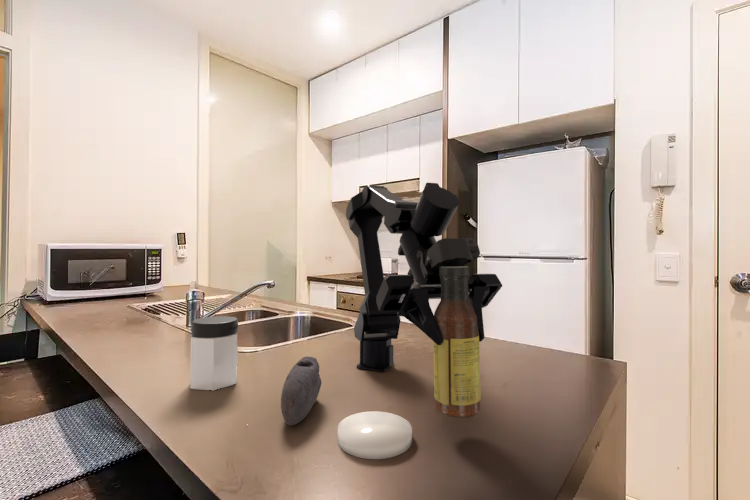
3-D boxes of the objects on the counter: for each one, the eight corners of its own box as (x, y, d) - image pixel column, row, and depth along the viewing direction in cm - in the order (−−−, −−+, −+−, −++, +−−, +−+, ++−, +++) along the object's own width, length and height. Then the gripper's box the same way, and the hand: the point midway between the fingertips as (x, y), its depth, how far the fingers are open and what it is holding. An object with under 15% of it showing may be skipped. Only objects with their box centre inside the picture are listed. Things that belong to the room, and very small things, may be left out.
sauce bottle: (485, 407, 52) (487, 266, 52) (472, 425, 47) (474, 267, 47) (441, 397, 55) (443, 264, 56) (424, 412, 50) (426, 266, 50)
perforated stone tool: (305, 436, 50) (305, 385, 51) (267, 435, 51) (267, 384, 51) (325, 394, 65) (325, 354, 66) (295, 393, 66) (296, 354, 66)
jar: (237, 388, 68) (238, 322, 68) (187, 394, 65) (188, 325, 65) (237, 373, 76) (238, 314, 76) (193, 377, 73) (194, 316, 73)
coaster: (323, 448, 47) (323, 436, 47) (357, 416, 57) (357, 406, 57) (397, 466, 43) (397, 454, 43) (420, 429, 53) (420, 418, 53)
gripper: (384, 217, 51) (419, 309, 41) (495, 222, 58) (549, 303, 48) (365, 270, 59) (391, 359, 49) (465, 269, 65) (507, 348, 55)
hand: (461, 341), depth 50 cm, fingers closed on sauce bottle, 6 cm apart
